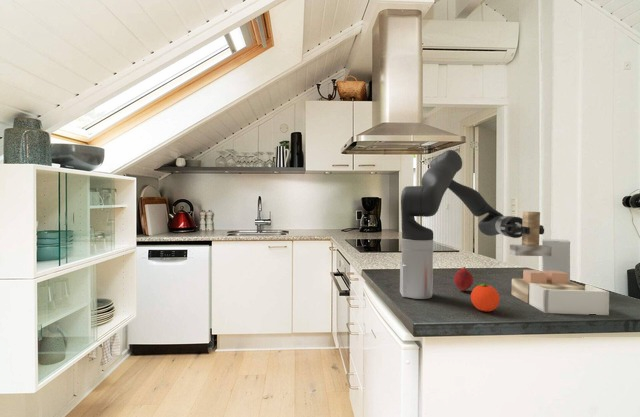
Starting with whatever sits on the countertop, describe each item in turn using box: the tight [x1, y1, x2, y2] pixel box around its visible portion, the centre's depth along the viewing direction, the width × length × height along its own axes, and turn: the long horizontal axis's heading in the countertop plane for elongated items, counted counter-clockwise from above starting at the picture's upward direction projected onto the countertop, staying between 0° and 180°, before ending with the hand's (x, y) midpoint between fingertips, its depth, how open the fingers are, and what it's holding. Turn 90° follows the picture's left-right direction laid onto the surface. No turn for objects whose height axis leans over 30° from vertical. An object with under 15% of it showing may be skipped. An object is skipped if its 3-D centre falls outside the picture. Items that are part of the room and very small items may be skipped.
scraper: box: [509, 211, 552, 257], centre depth 114 cm, size 11×4×14 cm, turn 86°
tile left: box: [522, 269, 547, 283], centre depth 106 cm, size 4×4×3 cm
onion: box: [453, 265, 474, 292], centre depth 113 cm, size 6×6×8 cm
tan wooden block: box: [511, 277, 585, 305], centre depth 104 cm, size 16×10×5 cm, turn 85°
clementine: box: [470, 283, 501, 312], centre depth 93 cm, size 8×7×7 cm
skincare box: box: [541, 238, 571, 281], centre depth 126 cm, size 8×7×16 cm
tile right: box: [544, 270, 568, 284], centre depth 105 cm, size 4×4×3 cm
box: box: [528, 283, 610, 316], centre depth 95 cm, size 16×8×6 cm, turn 85°
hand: (535, 230), depth 111 cm, fingers closed on scraper, 3 cm apart
